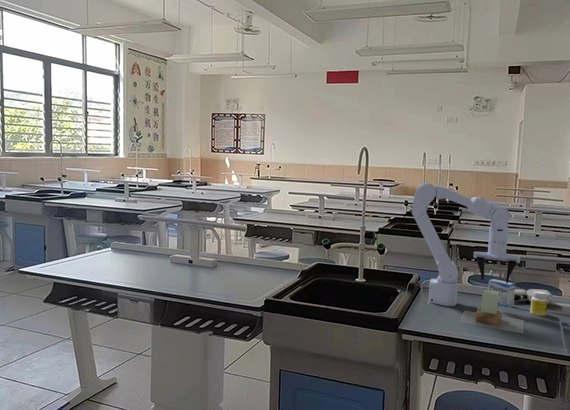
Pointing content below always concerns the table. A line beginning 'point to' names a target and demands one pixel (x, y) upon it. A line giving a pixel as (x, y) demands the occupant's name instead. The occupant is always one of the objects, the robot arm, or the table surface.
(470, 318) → the board
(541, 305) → the supplement bottle
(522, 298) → the robot toy
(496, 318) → the walnut brick
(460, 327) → the table surface
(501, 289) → the medicine box
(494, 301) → the sage brick
